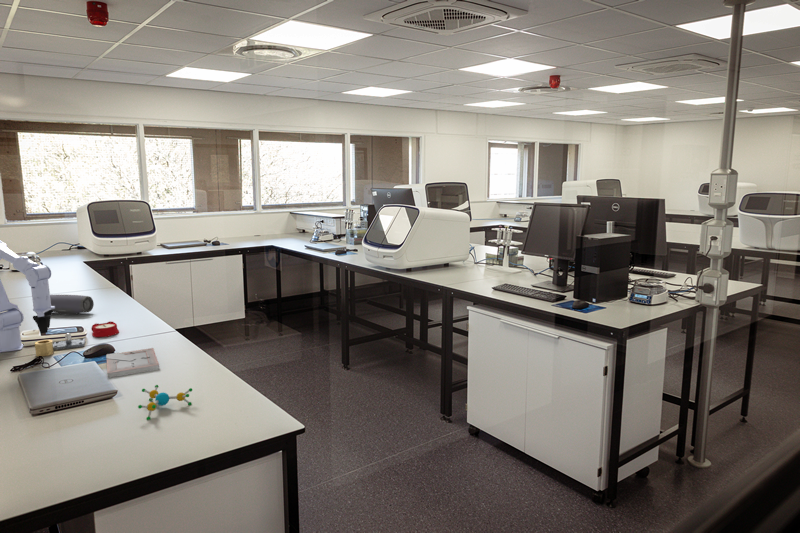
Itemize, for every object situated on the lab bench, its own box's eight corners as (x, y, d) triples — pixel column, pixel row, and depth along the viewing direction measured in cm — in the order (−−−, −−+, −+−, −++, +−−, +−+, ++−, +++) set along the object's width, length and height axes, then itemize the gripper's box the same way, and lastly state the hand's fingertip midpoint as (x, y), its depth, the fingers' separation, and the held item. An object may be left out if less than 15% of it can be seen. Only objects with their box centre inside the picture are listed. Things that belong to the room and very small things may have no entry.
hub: (35, 357, 199) (34, 345, 198) (37, 353, 203) (36, 340, 202) (52, 355, 201) (51, 342, 200) (54, 350, 206) (53, 338, 205)
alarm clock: (93, 331, 220) (88, 317, 231) (94, 344, 222) (89, 329, 233) (120, 327, 226) (114, 313, 237) (121, 340, 228) (114, 325, 239)
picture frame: (106, 360, 197) (107, 379, 179) (106, 354, 197) (107, 372, 179) (153, 353, 206) (159, 370, 187) (153, 347, 205) (158, 364, 187)
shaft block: (52, 350, 206) (50, 337, 205) (54, 344, 213) (52, 332, 212) (84, 346, 211) (82, 333, 210) (85, 341, 218) (83, 328, 217)
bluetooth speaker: (95, 312, 265) (93, 293, 263) (82, 317, 256) (80, 297, 254) (54, 310, 267) (52, 292, 266) (40, 315, 258) (38, 296, 256)
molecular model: (199, 405, 158) (174, 392, 168) (198, 390, 157) (173, 378, 167) (145, 424, 146) (122, 409, 155) (143, 408, 145) (121, 394, 154)
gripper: (51, 299, 195) (55, 333, 197) (55, 292, 207) (58, 324, 210) (29, 301, 192) (33, 336, 194) (34, 293, 204) (38, 326, 206)
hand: (45, 330), depth 202 cm, fingers open, 7 cm apart
